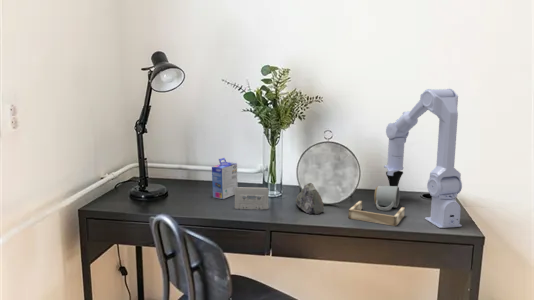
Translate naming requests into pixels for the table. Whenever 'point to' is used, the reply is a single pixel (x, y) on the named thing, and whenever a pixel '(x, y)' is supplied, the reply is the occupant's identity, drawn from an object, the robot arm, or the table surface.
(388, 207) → the ceramic mug
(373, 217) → the bracket
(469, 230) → the table surface
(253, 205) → the cassette
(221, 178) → the ink cartridge box
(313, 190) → the mineral rock
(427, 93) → the robot arm
